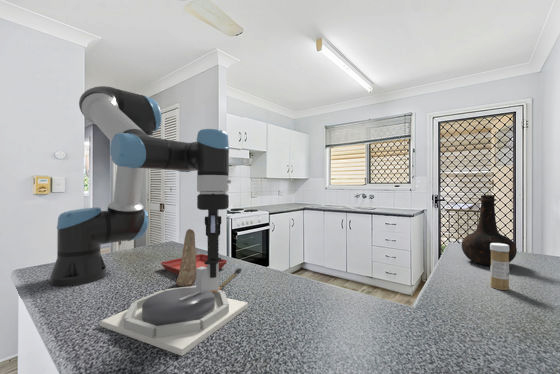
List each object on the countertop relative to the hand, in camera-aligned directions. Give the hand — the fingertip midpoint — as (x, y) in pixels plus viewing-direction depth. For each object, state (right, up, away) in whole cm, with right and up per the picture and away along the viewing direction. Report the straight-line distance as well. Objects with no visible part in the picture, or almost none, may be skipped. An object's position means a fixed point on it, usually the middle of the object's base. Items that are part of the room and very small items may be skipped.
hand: (213, 289), depth 66 cm
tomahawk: (+1, -6, +23) cm, 24 cm away
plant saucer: (-16, -6, +35) cm, 39 cm away
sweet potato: (-13, -6, +20) cm, 24 cm away
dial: (-7, -4, -2) cm, 9 cm away
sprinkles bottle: (+84, -6, +16) cm, 85 cm away
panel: (-7, -6, -2) cm, 9 cm away
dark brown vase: (+101, -6, +43) cm, 110 cm away
